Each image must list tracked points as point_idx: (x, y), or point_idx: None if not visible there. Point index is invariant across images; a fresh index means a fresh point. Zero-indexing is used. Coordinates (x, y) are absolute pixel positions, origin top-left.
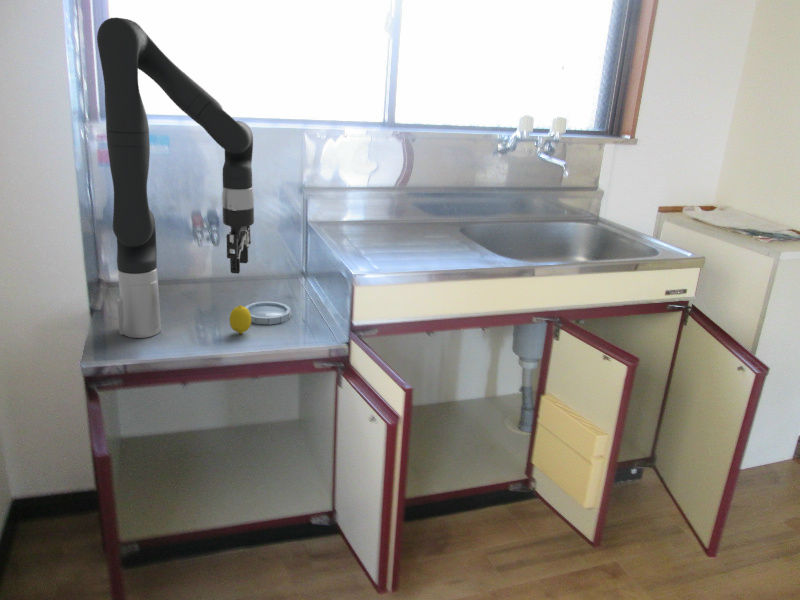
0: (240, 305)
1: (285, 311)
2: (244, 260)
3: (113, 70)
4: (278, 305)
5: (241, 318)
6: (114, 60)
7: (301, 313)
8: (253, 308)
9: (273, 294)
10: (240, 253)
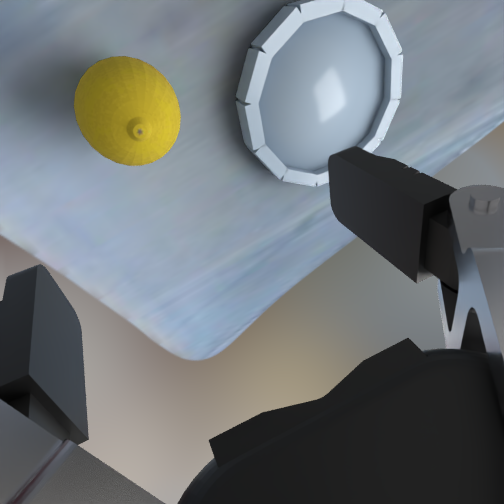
0: (144, 130)
1: None
2: (344, 204)
3: None
4: (382, 109)
5: (94, 148)
6: None
7: None
8: (345, 26)
9: (497, 12)
10: (387, 198)
